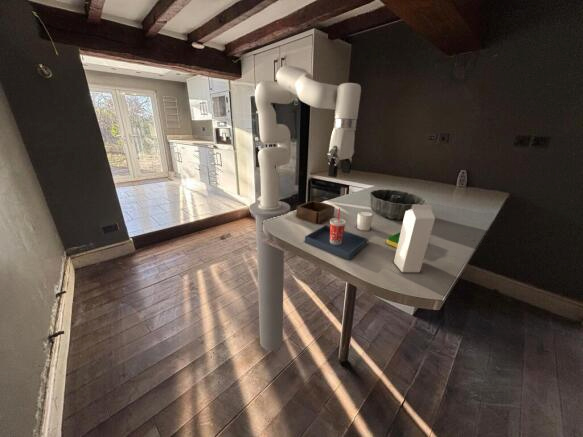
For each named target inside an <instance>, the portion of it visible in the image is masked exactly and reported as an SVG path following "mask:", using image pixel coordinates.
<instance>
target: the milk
mask: <svg viewBox="0 0 583 437" xmlns="http://www.w3.org/2000/svg"><path fill="white" fill-rule="evenodd" d="M432 207H433V205H432V204H423V205H420V204H414V205H412V209H411V210H407V211H405V216H404V219H402V220H403V221H402V224H401V230H400V232H401V233H400V237H399V242H398V246H397V248H396V249H395V250H396V251H395V256H394V259H393V263H394V264H395V265H396V267H397V268H398V269H399V271H400V272H402V273H420V272H421V270H422V266H423V262H424V259H425V257H426V256H425V255H426V252H427V249H428V246H429V242H430V239H431V235H432V231H433V228H434V225H435V220H436V217H435V215H434V212H433V211H432Z"/></svg>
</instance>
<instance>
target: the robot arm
mask: <svg viewBox="0 0 583 437" xmlns="http://www.w3.org/2000/svg"><path fill="white" fill-rule="evenodd" d="M361 93H362V86H361V85H360V83H355V82H343V83H340V84H339V85H336V84H330V83H323V82H320V81H316V80H315V79H314V76H313V75H312V74H311V73H309V72H308V71H307V70H306V68H303V67H297V66H292V65H283V66H281V67H280V68H279V69H278V70H277V73H276V81H274V80H263V81H260V82H259V83H258V84H257V85H256V87H255V91H254V101H255V107H256V109H257V115H258V131H259V139H260V141H261V143H262V144H264V145H277V146H267V147H262V148H261V149H260V150H259V151H258V153H257V161H258V165H259V173H260V174H259V175H260V196H258V198H257V200H256V201H257V202H259V201H260V204H259V205H258V206H259V208H260V209H262V210H268V211H272V210H278V209H280V208H281V204H280V203H279V201H280V200H279V199H280V197H279V196H280V195H279V194H280V190H279V189H280V188H279V187H280V176H279V175H280V174H279V171H278V170H277V168H276V167H279V166H285V165H288V164H289V163H290V161H291V158H292V143H291V142H292V140H291V130H290V128H289V127H288V126H287V125H286V124H283V123H278V122H277V112H276V110H275V108H274V107H273V105H272V104H282V105H289V104H291V103H293V102H294V101H295V100H297V99H298V100H300V101H301V102H302V103H304V104H306V105H308V106H310V107H312V108H316V109H327V110H334V122H333V129H332V132H331V136H330V140H329V147H328V152H327V154H326V155H327V161H328V174H327V175H328V177H331V178H337V177H338V171H339V170H338V169H339V165H338V164H339V162H340V161H343V162H342V168H341V172H342V173H343V174H351V168H352V163H353V159H354V154H355V151H356V150H355V138H356V137H355V136H356V131H357V122H358V118H359V108H360V102H361Z"/></svg>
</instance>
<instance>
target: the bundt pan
mask: <svg viewBox="0 0 583 437" xmlns="http://www.w3.org/2000/svg"><path fill="white" fill-rule="evenodd" d="M369 199H370V202H369V203H370V209H371V211H372V212H373V213H375V214H377V215H379V216H382V217H383V218H388V219H391V220H393V219H396V220H397V221H400V220H404V216H405V211H407V210H411V209H412V205H414V204H420V205H424V203H425V202H426V200H425V199H424V198H423V197H421V196H419V195H417V194H414V193H410V192H407V191H403V190H397V189H376V190H375V189H373V190H372V191H369Z"/></svg>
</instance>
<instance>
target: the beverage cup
mask: <svg viewBox="0 0 583 437" xmlns="http://www.w3.org/2000/svg"><path fill="white" fill-rule="evenodd" d="M337 212H338V213H337V217H333V218H331V219H329V224H330V225H329V226H330V243H332V244H334V245H340V244H341V243H342V238H343V233H344V231H345V228H346V225H347V221H346V219H343V218H340V213H341V208H338V211H337Z"/></svg>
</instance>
